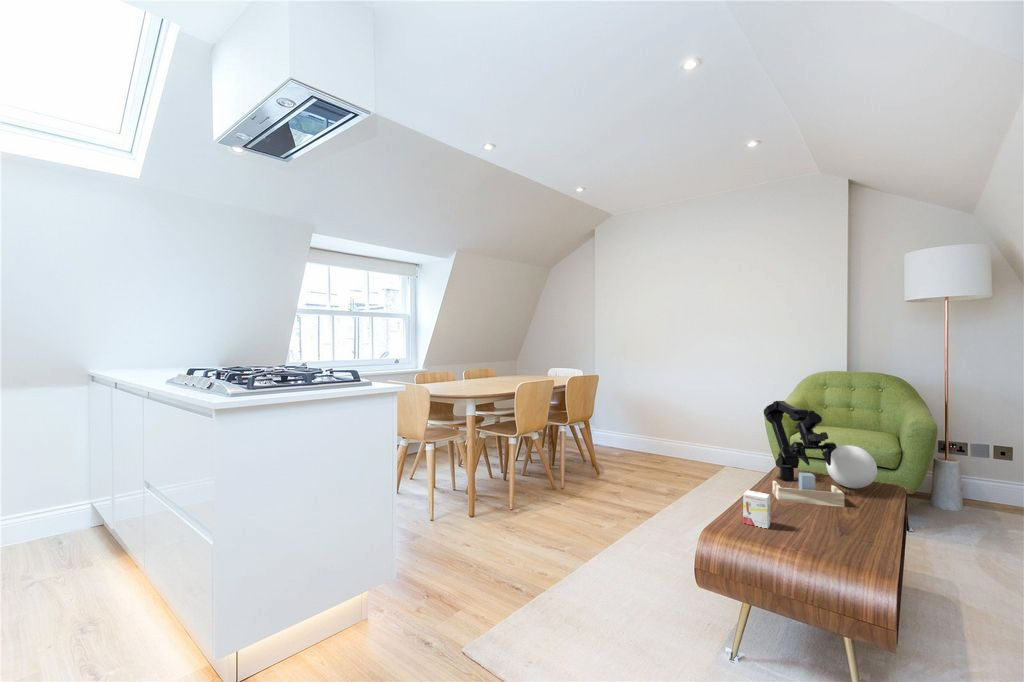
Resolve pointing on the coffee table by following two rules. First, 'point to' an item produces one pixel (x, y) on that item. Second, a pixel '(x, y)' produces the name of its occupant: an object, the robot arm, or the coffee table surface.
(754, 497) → the ink box
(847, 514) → the coffee table surface
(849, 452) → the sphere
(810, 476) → the pale blue block
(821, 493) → the birch crate
